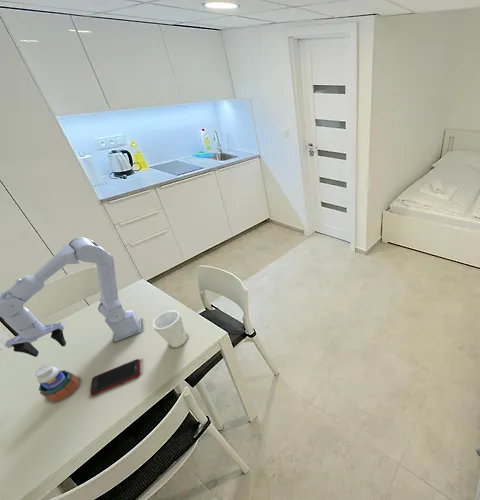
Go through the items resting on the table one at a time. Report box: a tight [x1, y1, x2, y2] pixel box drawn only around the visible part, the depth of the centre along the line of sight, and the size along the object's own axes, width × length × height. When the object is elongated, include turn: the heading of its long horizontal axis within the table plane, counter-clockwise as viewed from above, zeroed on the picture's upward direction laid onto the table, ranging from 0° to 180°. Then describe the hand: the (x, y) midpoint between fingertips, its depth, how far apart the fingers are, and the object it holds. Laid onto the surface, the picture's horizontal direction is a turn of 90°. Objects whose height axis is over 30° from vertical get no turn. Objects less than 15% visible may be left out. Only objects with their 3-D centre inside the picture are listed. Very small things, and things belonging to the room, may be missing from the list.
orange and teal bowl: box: [38, 369, 80, 403], centre depth 100 cm, size 9×9×6 cm
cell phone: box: [90, 358, 141, 396], centre depth 104 cm, size 8×15×1 cm, turn 122°
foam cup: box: [151, 309, 187, 348], centre depth 114 cm, size 10×9×13 cm
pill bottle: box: [34, 364, 67, 391], centre depth 97 cm, size 5×5×10 cm
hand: (50, 349), depth 103 cm, fingers open, 7 cm apart
